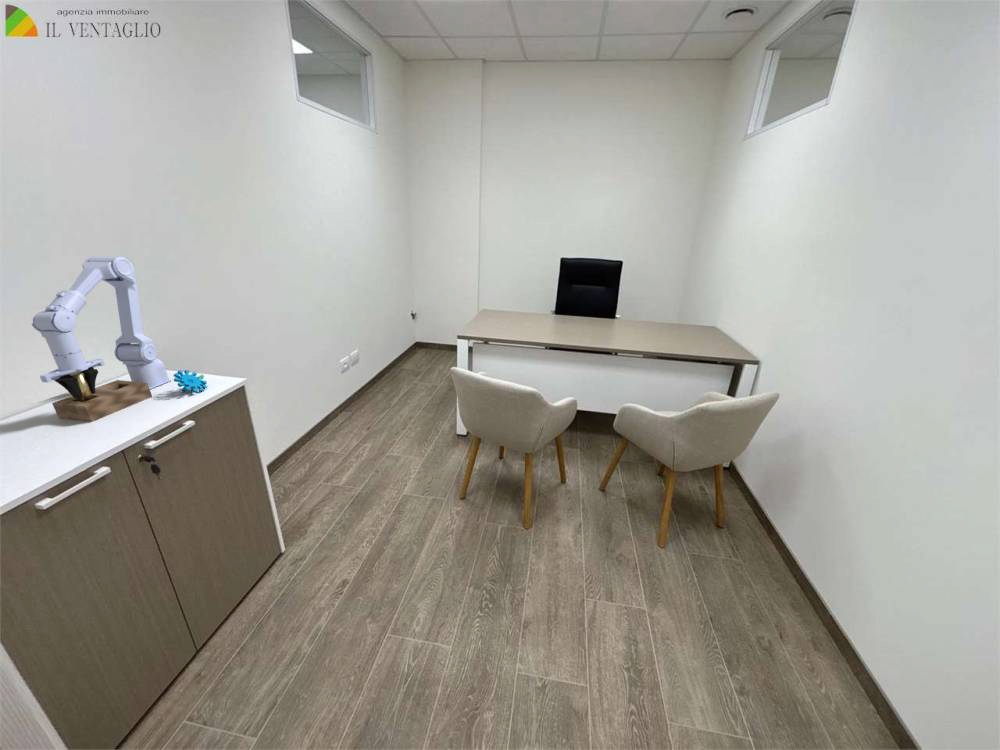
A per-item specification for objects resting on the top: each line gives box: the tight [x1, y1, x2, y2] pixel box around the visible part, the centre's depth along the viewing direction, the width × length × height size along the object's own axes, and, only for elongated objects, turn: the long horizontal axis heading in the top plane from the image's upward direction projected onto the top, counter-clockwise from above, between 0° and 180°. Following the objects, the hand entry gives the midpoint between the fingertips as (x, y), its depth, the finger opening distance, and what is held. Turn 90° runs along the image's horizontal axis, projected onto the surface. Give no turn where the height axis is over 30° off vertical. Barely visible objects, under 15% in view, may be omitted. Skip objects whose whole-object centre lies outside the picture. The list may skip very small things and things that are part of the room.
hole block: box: [51, 379, 153, 423], centre depth 124 cm, size 18×12×5 cm, turn 170°
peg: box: [70, 372, 93, 402], centre depth 117 cm, size 3×3×10 cm
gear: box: [173, 369, 208, 394], centre depth 136 cm, size 11×6×10 cm
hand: (84, 395), depth 118 cm, fingers closed on peg, 3 cm apart
